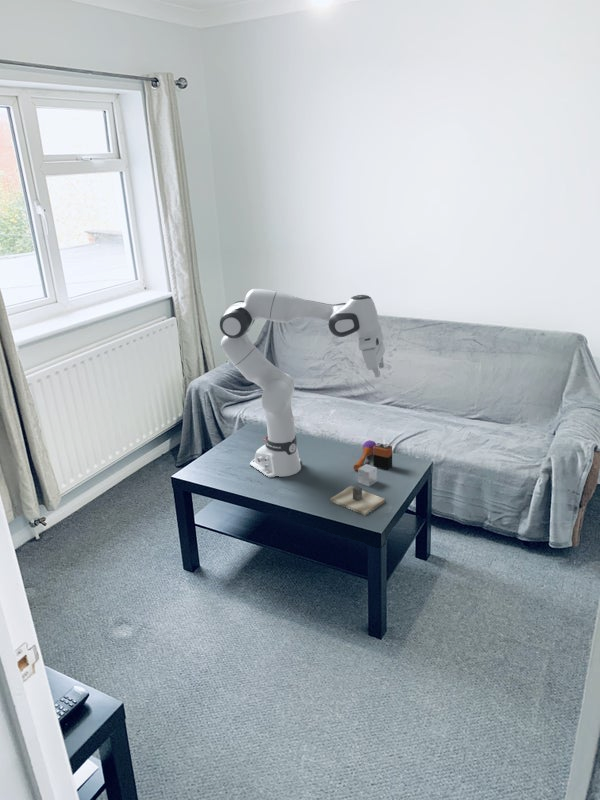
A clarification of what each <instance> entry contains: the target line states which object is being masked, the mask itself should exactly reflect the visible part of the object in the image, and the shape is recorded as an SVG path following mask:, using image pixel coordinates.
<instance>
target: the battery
mask: <svg viewBox="0 0 600 800" xmlns="http://www.w3.org/2000/svg"><path fill="white" fill-rule="evenodd" d="M372 463H373V465H372V466H374V467H377V469H381V468H382V469H383V470H386V471H388V470H390V469H391V468H392V466H393V446H392V445H390V444H389V443H384V444H383V443H381V442H378V443H377V442H376V445H375V446H374V447H373V454H372Z"/></svg>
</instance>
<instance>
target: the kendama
mask: <svg viewBox="0 0 600 800" xmlns="http://www.w3.org/2000/svg"><path fill="white" fill-rule="evenodd" d="M376 444H377V442H375V441H373V440H367V441H364V443H363V446H362V453H363V455H362V456H361V457H360V459H359V460H358V461H357V462H356V463H355V464H354V465H353V470H354V471H355V472H358V469H359V468H360V467H362V466H364V465H365V464H364V463H365V460H366V458H367V457H369V456H371V455H373V447H374V446H375V445H376Z"/></svg>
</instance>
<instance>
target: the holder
mask: <svg viewBox="0 0 600 800" xmlns="http://www.w3.org/2000/svg"><path fill="white" fill-rule="evenodd" d="M329 502H331V503H334V504H336V505H338V506H340V505H341V507H343V508H345V507H346V508H345V509H348V510H350V509H351V511H352V510H353V512H355V511H356V512H355V513H357V512H358V513H357V514H360V513H361V515H362V514H363V515H362V516H364V515H365V516H367V515H368V514H370V513H372V512H373V511H374V510H376V509H377V508H378V507H380V506H381V505H383V504H384V503H386V499H385V498H384V497H381V496H378V495H376V494H373V493H371V492H368V491H365V490H363V487H361V486H359V485H355V486H352V485H349V486H348V487H346V488H345V489H344V490H342V491H340V492H338V493H337V494H336V495H334V496H332V497H331V498H330V501H329ZM375 508H376V509H375ZM372 510H373V511H372ZM369 512H370V513H369ZM366 514H367V515H366Z"/></svg>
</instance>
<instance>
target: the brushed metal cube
mask: <svg viewBox="0 0 600 800" xmlns="http://www.w3.org/2000/svg"><path fill="white" fill-rule="evenodd" d="M357 479H358V480H357V482H358V483H359V484H361V485H364V486H366V487H371V486H372V485H374V484H375V483H377V482H378V468H377V467H374V466H373V465H370V464H367V463H365V464H363V466H362V467H360V468H359V469H358V471H357Z"/></svg>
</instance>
